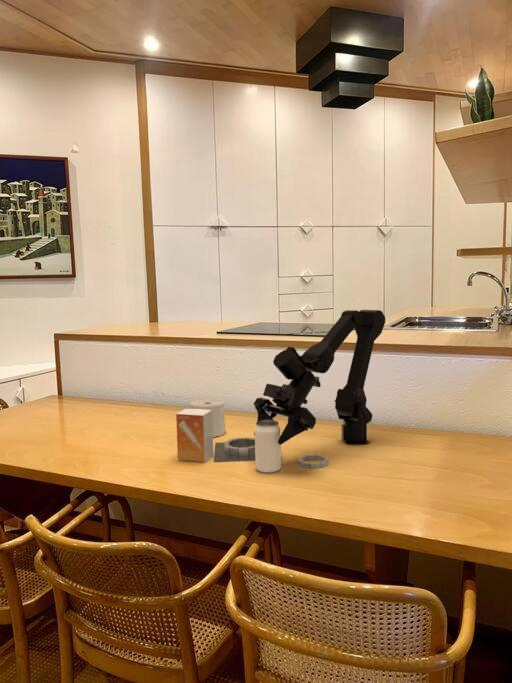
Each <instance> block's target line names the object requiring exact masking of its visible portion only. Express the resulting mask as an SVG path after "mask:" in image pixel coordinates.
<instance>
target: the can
mask: <svg viewBox="0 0 512 683" xmlns="http://www.w3.org/2000/svg"><path fill="white" fill-rule="evenodd" d="M255 424H256V425H255V427H254V432H255V436H254V438H255V460H254V461H255V469H256V470H257V471H258V472H259V473H263V474H273V473H277V472H279V471H280V470H281V469H282V448H281V447H282V446H281V445H282V444H281V445H279V444H278V440H279V438H280V436H281V428H280V425H279V422H278V421H277V420H275V419H273V420H262V421H258V422H257V421H256V422H255Z"/></svg>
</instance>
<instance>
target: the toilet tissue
mask: <svg viewBox="0 0 512 683" xmlns="http://www.w3.org/2000/svg"><path fill="white" fill-rule="evenodd" d="M180 407H181V411H182V410H184V409H203V410H212V425H213V438H216V437H217V436H218V437H221V436H223V435H224V434H225V433H226V421H225V420H226V419H225V418H226V416H225V401H224V400H222V399H219V398H218V399H216V398H205V399H198V400H193V401H191V402H190V405H185V404H181V405H180Z"/></svg>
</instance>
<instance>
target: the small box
mask: <svg viewBox="0 0 512 683" xmlns="http://www.w3.org/2000/svg"><path fill="white" fill-rule="evenodd" d="M175 416H176V417H175V418H176V420H175V421H176V438H177V439H176V445H177V447H176V448H177V461H183V462H185V461H186V462H197V463H206V462H207V461H208V460H210V459H211V458H212V457H214V437H213V425H212V410H203V409H184V410H182V409H181V410H180V411H179V412H177V413H176V414H175Z"/></svg>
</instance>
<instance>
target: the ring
mask: <svg viewBox="0 0 512 683" xmlns="http://www.w3.org/2000/svg"><path fill="white" fill-rule="evenodd" d="M297 459H298V460H297V461H298V464H299V466H300V467H303V466H304V468H308V469H317V468H318V469H321V467H322V468H324V467H327V466H328V464H329V465H330V459H329V458H328V456H327V455H323V454H318V453H317V454H311V453H310V454H304V455H302V456H300V457H298V458H297ZM308 460H320V462H308Z"/></svg>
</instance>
